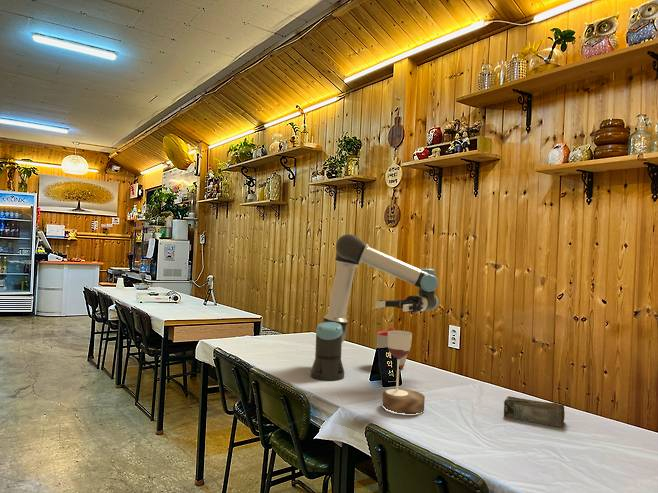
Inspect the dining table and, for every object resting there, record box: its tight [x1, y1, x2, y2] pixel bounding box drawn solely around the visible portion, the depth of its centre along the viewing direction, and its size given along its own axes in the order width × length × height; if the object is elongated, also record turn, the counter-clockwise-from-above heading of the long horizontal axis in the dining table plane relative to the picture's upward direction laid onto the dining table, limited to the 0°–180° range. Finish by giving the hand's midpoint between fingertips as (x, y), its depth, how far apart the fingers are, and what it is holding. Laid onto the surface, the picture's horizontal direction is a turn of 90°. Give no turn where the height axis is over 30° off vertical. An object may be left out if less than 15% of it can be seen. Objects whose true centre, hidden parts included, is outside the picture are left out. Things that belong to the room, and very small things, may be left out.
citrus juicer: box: [376, 326, 408, 370], centre depth 239 cm, size 16×17×20 cm
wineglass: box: [385, 330, 413, 396], centre depth 179 cm, size 9×10×22 cm
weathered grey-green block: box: [503, 395, 566, 428], centre depth 171 cm, size 8×19×7 cm, turn 61°
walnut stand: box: [381, 388, 426, 414], centre depth 176 cm, size 15×15×5 cm
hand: (389, 306), depth 203 cm, fingers open, 13 cm apart
